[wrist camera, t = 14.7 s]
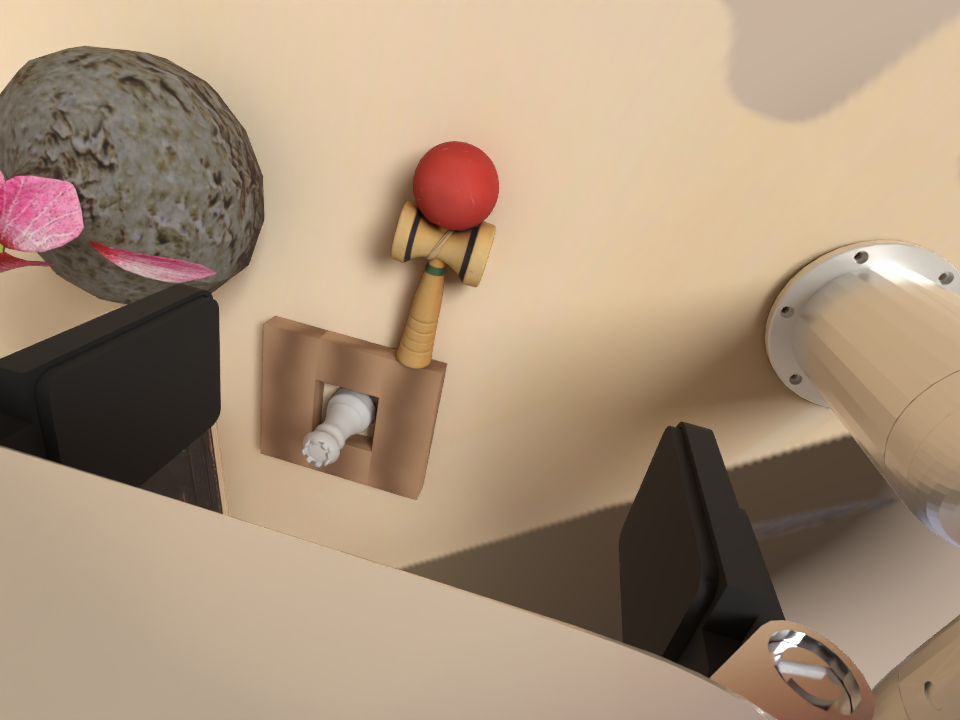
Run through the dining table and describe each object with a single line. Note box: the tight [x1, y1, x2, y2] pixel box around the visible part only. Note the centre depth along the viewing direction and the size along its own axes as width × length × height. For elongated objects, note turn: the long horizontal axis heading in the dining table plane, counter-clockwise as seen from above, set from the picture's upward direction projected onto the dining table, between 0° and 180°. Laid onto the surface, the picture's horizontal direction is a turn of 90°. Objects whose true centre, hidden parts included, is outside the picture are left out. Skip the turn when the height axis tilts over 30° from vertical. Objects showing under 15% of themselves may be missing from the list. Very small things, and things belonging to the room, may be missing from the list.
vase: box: [0, 46, 264, 304], centre depth 31 cm, size 17×18×30 cm
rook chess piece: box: [301, 388, 376, 468], centre depth 48 cm, size 4×4×8 cm
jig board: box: [261, 316, 447, 500], centre depth 50 cm, size 16×14×2 cm
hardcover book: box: [139, 421, 229, 516], centre depth 60 cm, size 16×23×2 cm
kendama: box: [391, 141, 499, 369], centre depth 42 cm, size 8×6×18 cm
